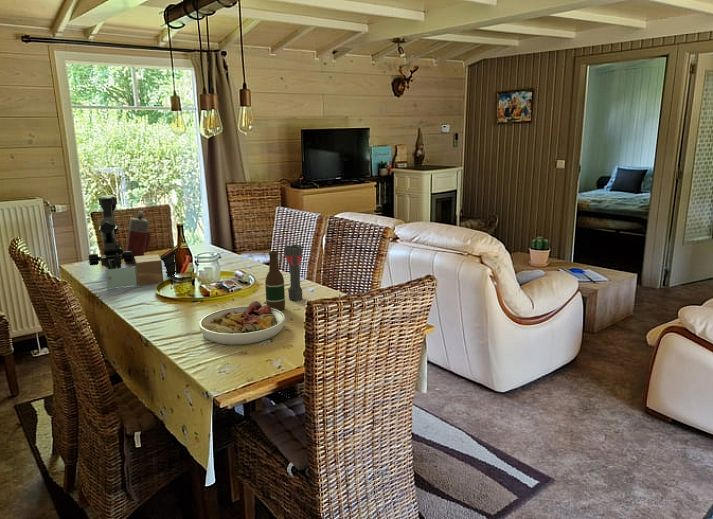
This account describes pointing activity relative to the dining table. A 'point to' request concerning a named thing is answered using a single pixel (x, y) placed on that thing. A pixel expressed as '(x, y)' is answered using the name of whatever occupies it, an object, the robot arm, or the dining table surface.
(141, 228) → the red grey bottle
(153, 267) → the walnut box
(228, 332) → the bowl
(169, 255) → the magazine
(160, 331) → the dining table surface
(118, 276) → the door
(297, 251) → the flashlight
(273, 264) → the beer bottle
